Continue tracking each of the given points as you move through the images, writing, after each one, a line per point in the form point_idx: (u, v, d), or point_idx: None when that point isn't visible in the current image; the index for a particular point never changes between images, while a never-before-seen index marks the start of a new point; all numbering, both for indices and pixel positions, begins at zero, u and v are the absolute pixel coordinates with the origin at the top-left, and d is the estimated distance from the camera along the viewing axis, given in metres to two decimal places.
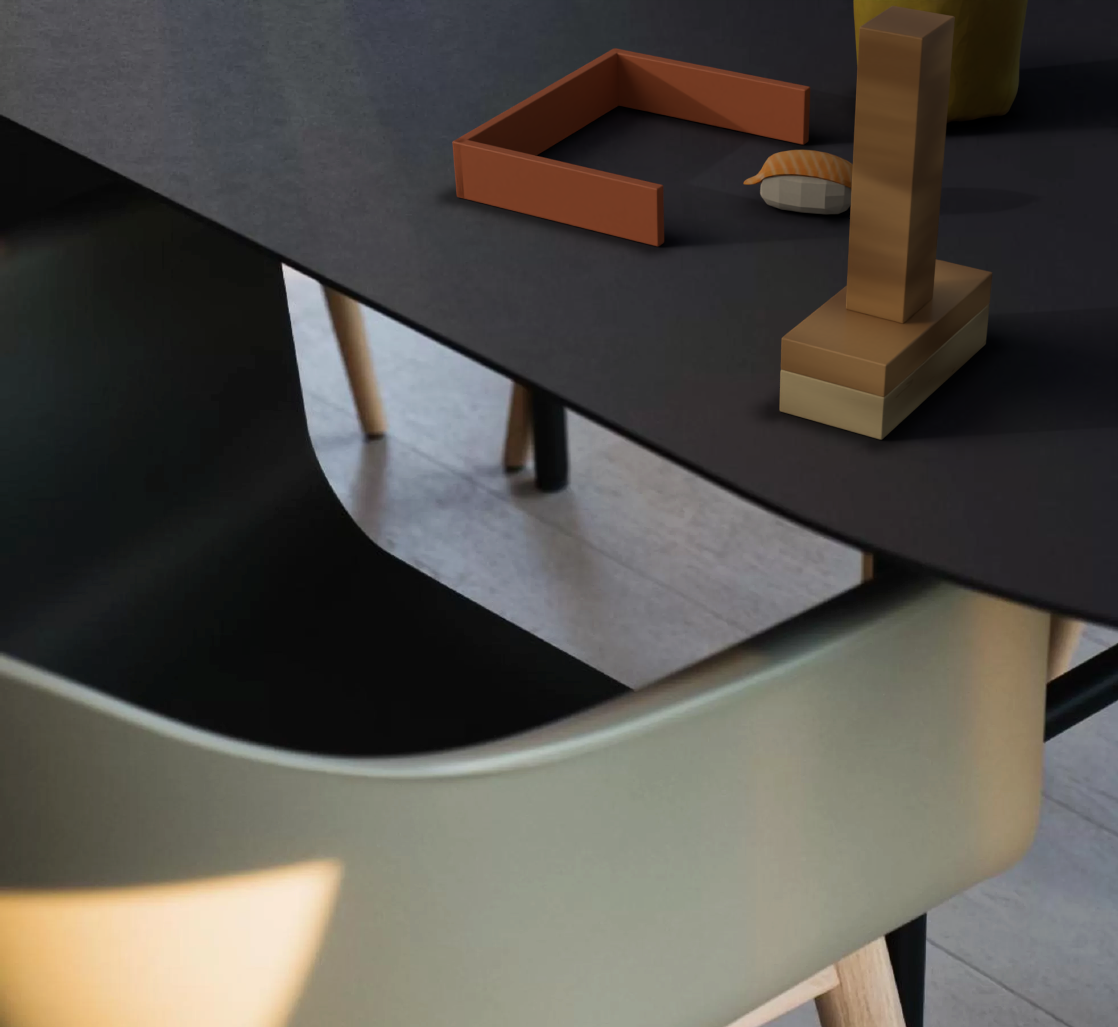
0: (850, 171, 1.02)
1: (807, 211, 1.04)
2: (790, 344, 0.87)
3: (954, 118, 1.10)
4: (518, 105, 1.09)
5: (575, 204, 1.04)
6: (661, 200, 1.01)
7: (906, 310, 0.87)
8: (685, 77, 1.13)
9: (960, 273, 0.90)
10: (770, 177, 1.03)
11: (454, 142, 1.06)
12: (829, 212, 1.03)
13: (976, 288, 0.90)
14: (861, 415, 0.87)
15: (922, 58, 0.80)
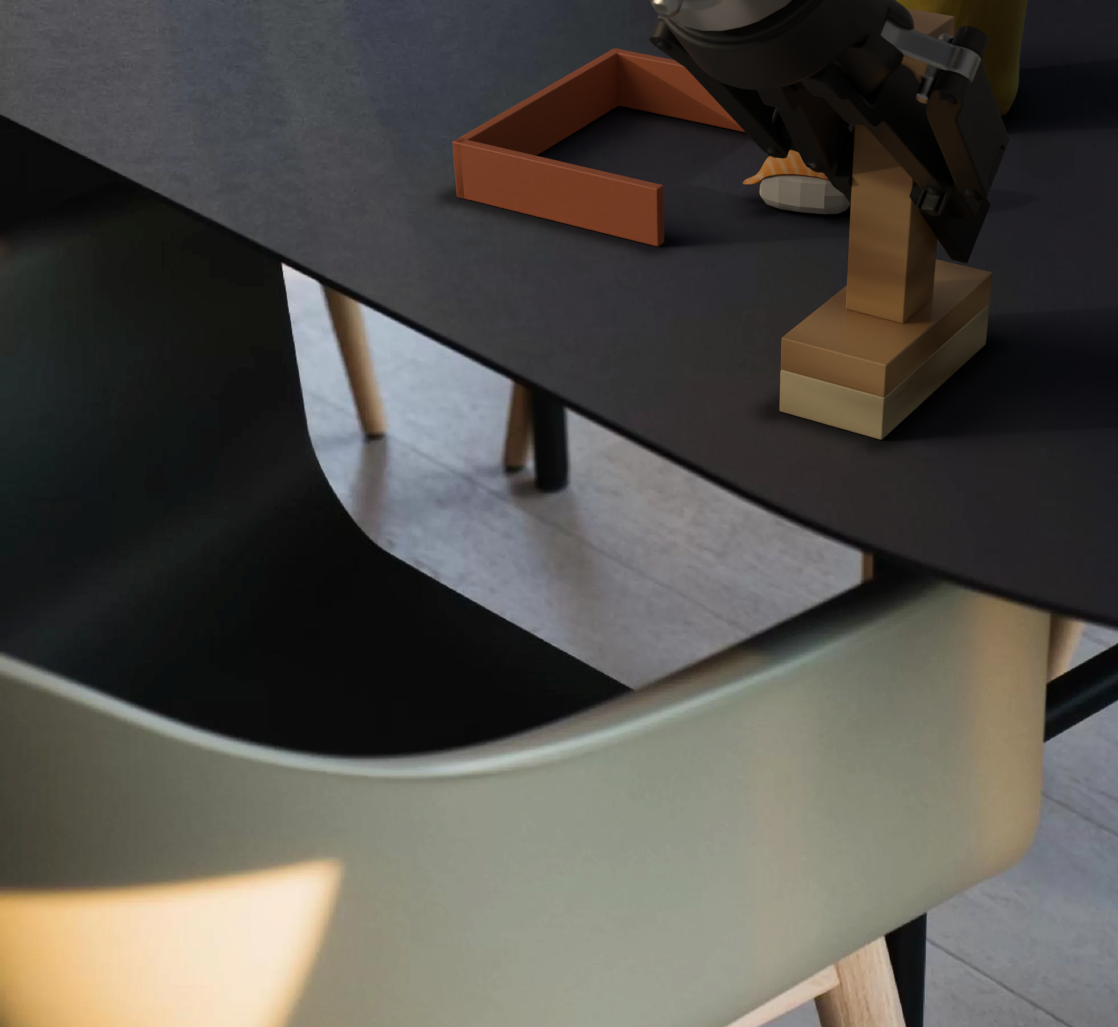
0: None
1: (806, 211, 1.04)
2: (790, 344, 0.87)
3: None
4: (518, 105, 1.09)
5: (575, 204, 1.04)
6: (661, 200, 1.01)
7: (906, 310, 0.87)
8: (685, 77, 1.13)
9: (960, 273, 0.90)
10: (769, 177, 1.03)
11: (454, 142, 1.06)
12: (828, 212, 1.03)
13: (976, 288, 0.90)
14: (861, 415, 0.87)
15: None
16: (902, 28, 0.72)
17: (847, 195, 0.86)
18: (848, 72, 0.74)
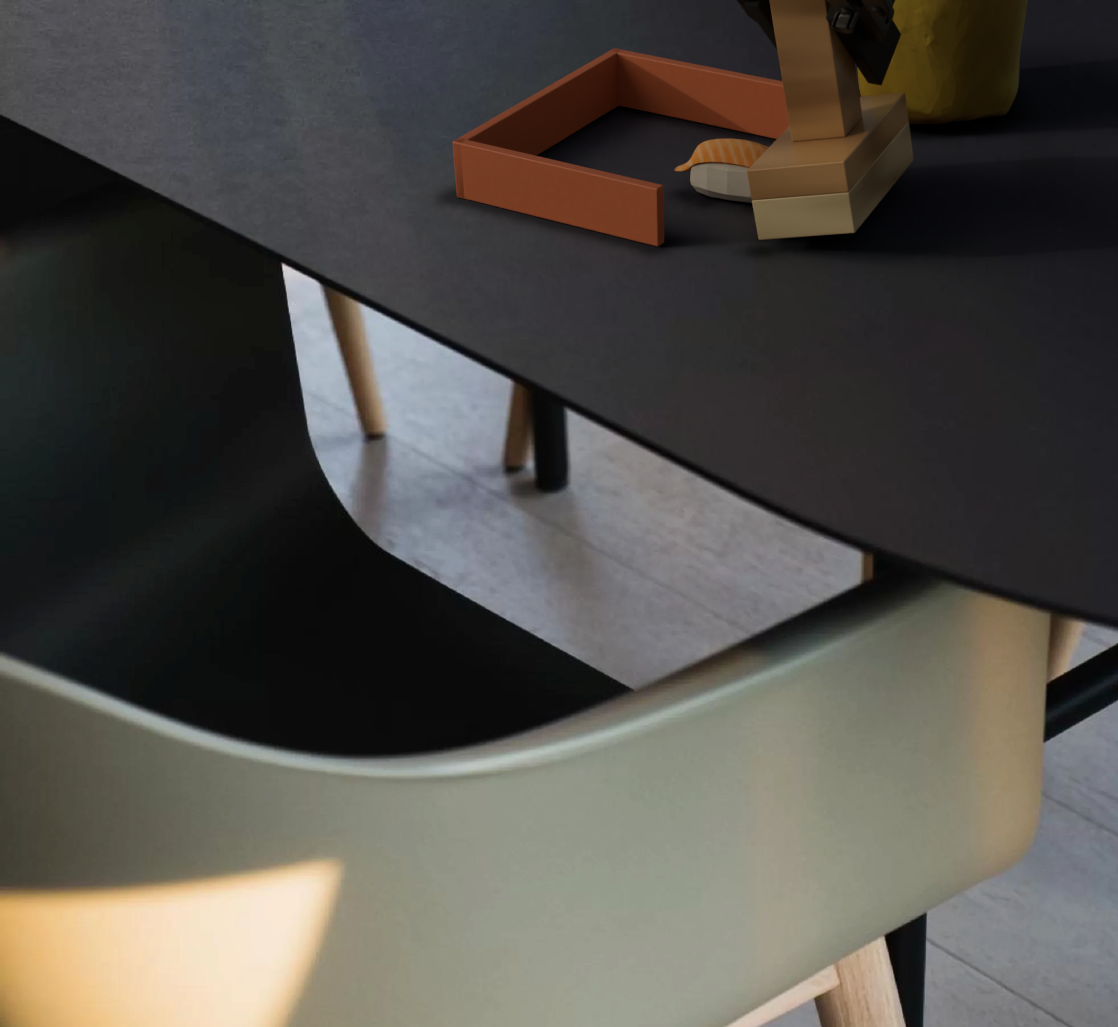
0: None
1: (734, 199, 1.05)
2: (755, 173, 0.99)
3: (954, 118, 1.10)
4: (518, 105, 1.09)
5: (575, 204, 1.04)
6: (661, 200, 1.01)
7: (845, 124, 1.00)
8: (685, 77, 1.13)
9: (878, 99, 1.04)
10: (698, 165, 1.05)
11: (454, 142, 1.06)
12: None
13: (896, 104, 1.03)
14: (832, 216, 0.99)
15: None
16: None
17: (758, 20, 1.00)
18: None
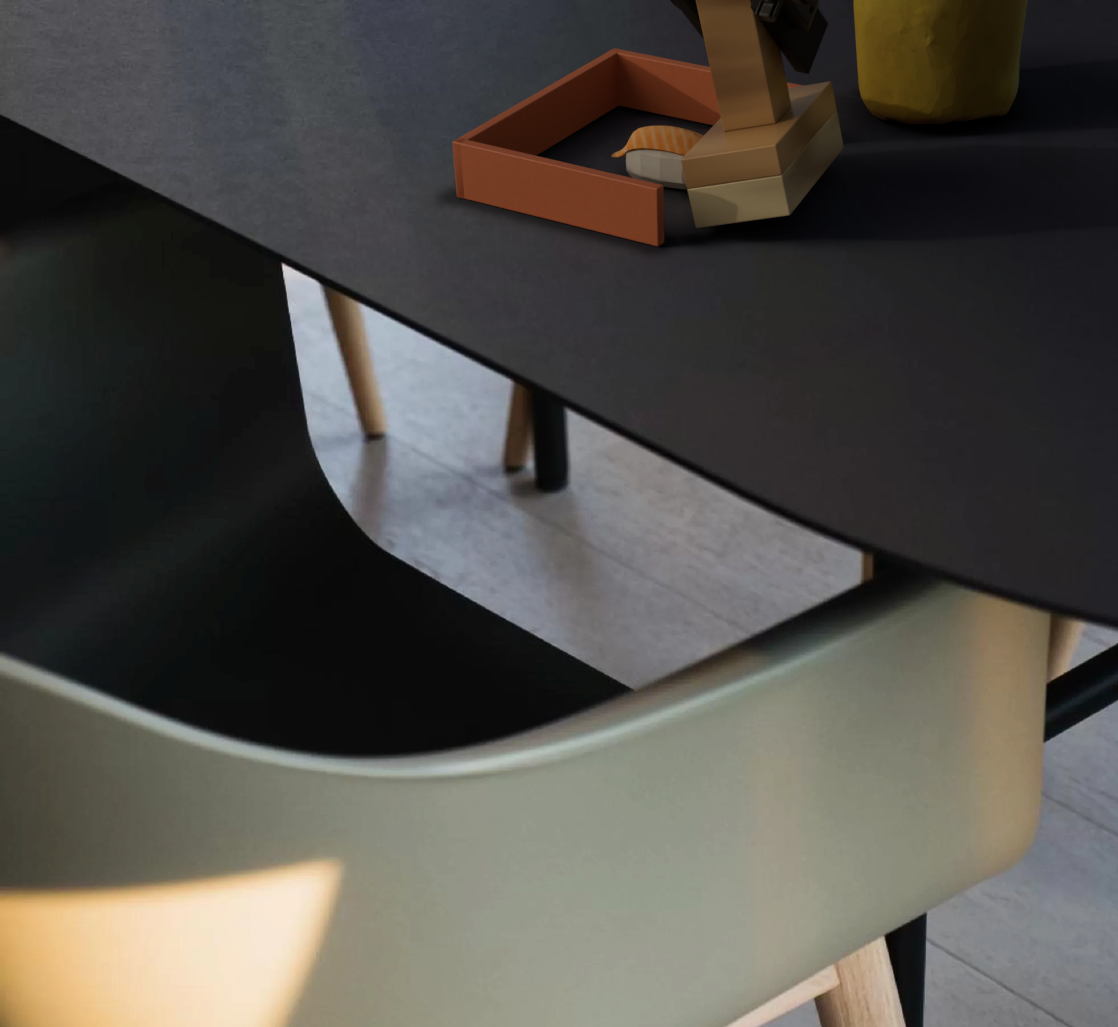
0: None
1: (667, 185, 1.07)
2: (689, 162, 1.00)
3: (954, 118, 1.10)
4: (518, 105, 1.09)
5: (575, 204, 1.04)
6: (661, 200, 1.01)
7: (774, 111, 1.01)
8: (685, 77, 1.13)
9: (806, 89, 1.06)
10: (632, 151, 1.07)
11: (454, 142, 1.06)
12: None
13: (823, 92, 1.04)
14: (766, 200, 1.00)
15: None
16: None
17: (682, 8, 1.02)
18: None
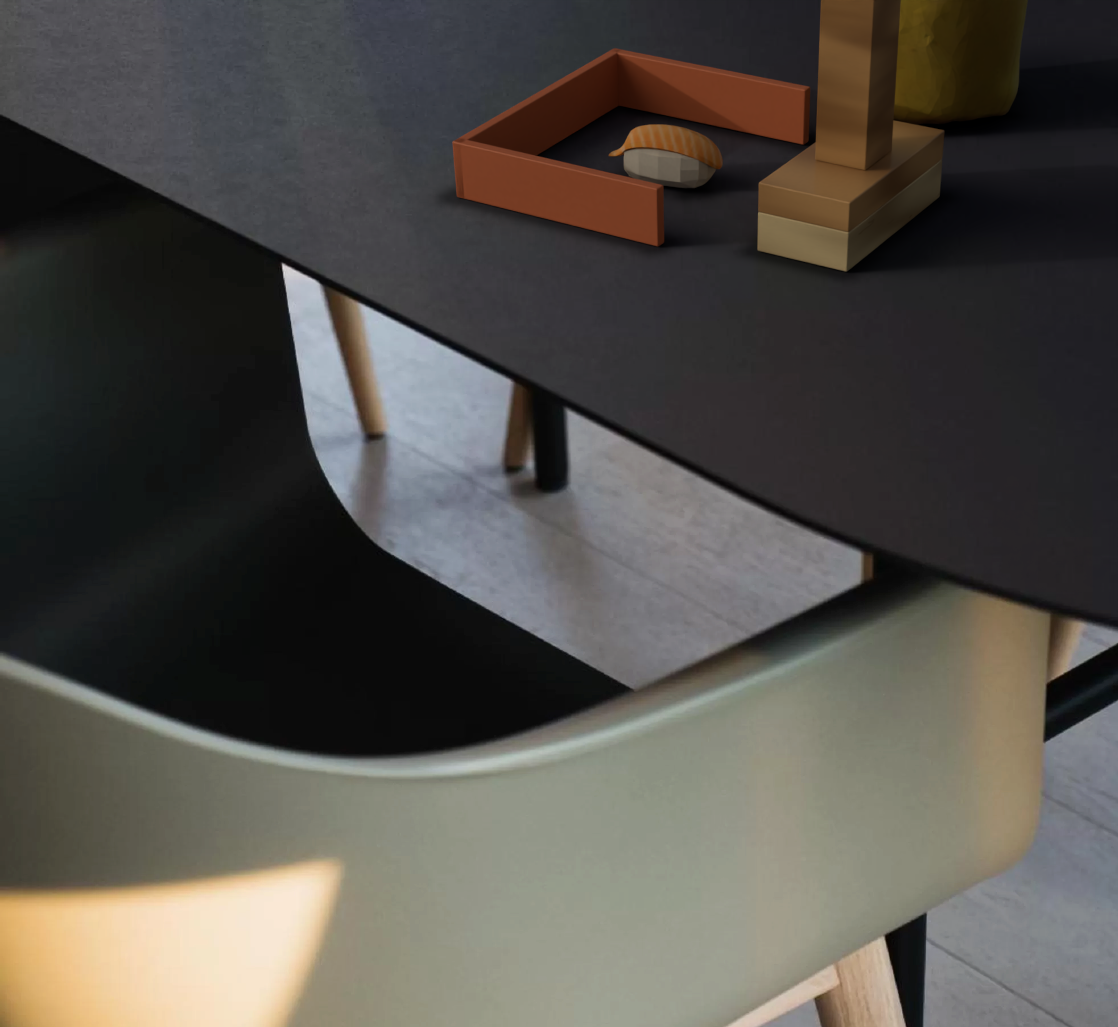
0: (705, 147, 1.06)
1: (665, 184, 1.07)
2: (766, 188, 0.99)
3: (954, 118, 1.10)
4: (518, 105, 1.09)
5: (575, 204, 1.04)
6: (661, 200, 1.01)
7: (868, 158, 0.99)
8: (685, 77, 1.13)
9: (916, 131, 1.03)
10: (630, 150, 1.07)
11: (454, 142, 1.06)
12: (685, 186, 1.07)
13: (930, 143, 1.02)
14: (829, 250, 0.99)
15: None
16: None
17: None
18: None
